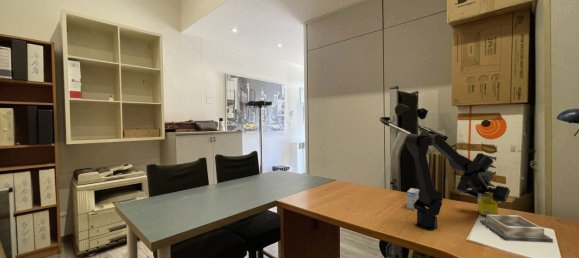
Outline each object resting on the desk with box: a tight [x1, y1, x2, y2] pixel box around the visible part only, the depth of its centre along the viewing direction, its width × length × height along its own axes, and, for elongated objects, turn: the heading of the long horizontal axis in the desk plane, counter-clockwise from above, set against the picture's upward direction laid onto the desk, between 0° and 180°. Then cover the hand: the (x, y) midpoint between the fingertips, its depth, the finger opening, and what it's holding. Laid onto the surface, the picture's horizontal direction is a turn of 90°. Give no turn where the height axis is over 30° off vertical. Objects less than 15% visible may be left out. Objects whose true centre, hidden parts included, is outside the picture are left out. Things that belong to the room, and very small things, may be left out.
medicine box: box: [406, 187, 420, 211], centre depth 124 cm, size 8×4×9 cm, turn 141°
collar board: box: [479, 214, 554, 243], centre depth 94 cm, size 15×15×4 cm
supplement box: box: [477, 192, 499, 217], centre depth 111 cm, size 6×6×11 cm
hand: (488, 199), depth 111 cm, fingers closed on supplement box, 8 cm apart
